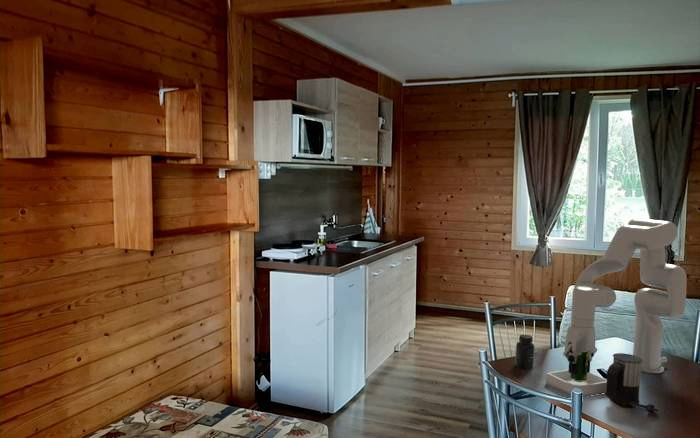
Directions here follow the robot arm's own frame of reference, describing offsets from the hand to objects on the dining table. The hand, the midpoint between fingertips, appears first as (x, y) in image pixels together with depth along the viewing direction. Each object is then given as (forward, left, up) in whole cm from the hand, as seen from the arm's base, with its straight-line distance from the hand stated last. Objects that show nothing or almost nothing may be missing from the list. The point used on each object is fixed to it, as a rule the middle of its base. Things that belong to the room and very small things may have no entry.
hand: (579, 372), depth 197 cm
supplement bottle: (+3, -24, -6) cm, 25 cm away
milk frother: (-6, +17, -6) cm, 19 cm away
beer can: (0, 0, -3) cm, 3 cm away
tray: (0, 0, -6) cm, 6 cm away
